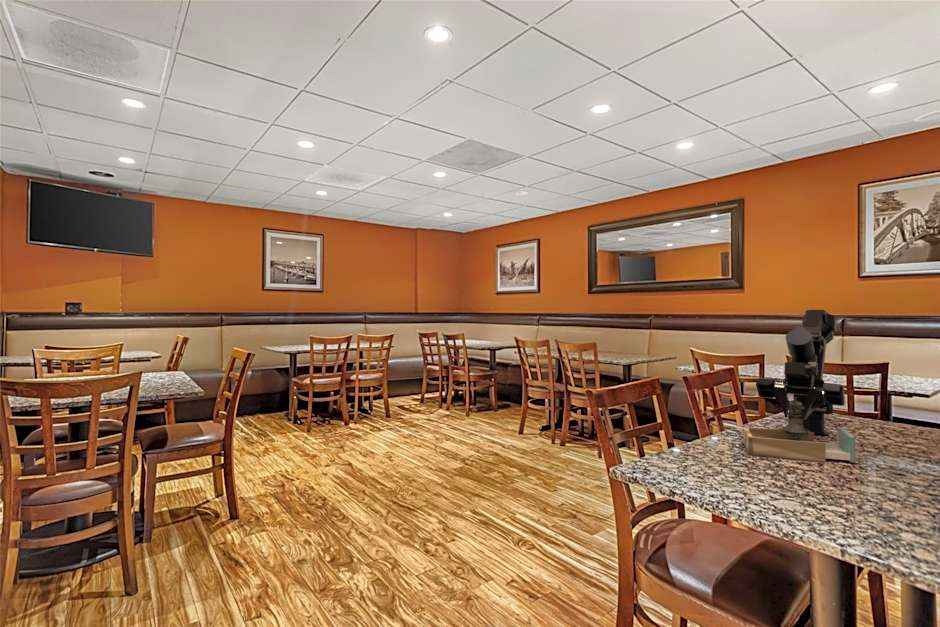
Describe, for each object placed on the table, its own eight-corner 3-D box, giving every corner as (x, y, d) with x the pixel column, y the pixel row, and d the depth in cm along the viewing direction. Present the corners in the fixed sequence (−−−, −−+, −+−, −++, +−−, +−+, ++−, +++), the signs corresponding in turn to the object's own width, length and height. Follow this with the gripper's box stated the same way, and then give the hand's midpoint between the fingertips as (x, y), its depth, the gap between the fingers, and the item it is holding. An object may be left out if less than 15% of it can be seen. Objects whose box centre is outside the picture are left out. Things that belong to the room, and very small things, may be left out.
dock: (743, 443, 131) (743, 426, 131) (813, 449, 125) (813, 432, 125) (748, 454, 121) (748, 437, 121) (825, 462, 114) (825, 443, 114)
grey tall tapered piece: (776, 442, 123) (776, 396, 123) (790, 438, 125) (790, 393, 125) (800, 448, 118) (800, 400, 117) (814, 444, 120) (814, 397, 120)
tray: (771, 445, 127) (771, 423, 127) (843, 452, 121) (843, 428, 121) (777, 455, 119) (777, 431, 119) (855, 462, 113) (855, 437, 113)
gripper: (757, 348, 130) (746, 394, 123) (843, 352, 117) (837, 404, 110) (764, 373, 136) (754, 419, 129) (847, 379, 123) (842, 430, 116)
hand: (794, 417), depth 120 cm, fingers closed on grey tall tapered piece, 3 cm apart
